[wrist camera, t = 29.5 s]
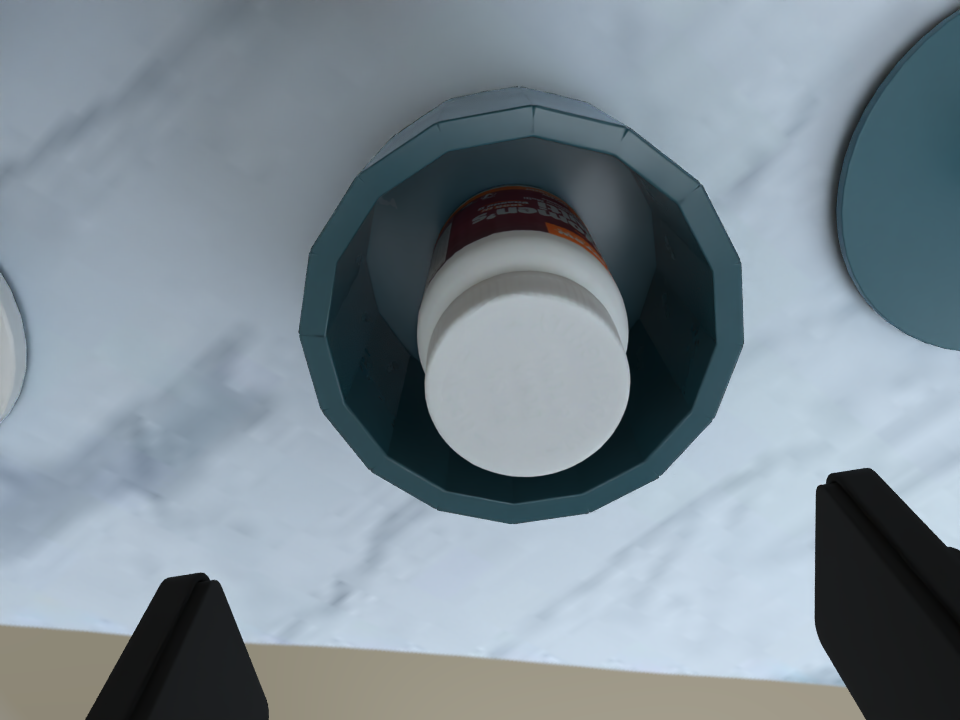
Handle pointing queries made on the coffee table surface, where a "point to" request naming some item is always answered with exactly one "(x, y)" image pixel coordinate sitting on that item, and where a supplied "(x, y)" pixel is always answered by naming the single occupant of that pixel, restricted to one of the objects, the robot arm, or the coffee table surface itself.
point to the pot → (623, 245)
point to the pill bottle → (522, 335)
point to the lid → (909, 193)
